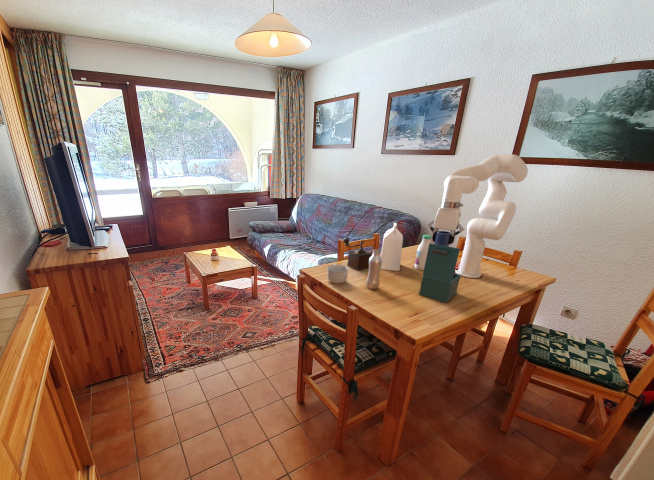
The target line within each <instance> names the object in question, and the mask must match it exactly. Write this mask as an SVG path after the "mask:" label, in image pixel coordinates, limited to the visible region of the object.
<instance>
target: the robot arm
mask: <svg viewBox="0 0 654 480" xmlns="http://www.w3.org/2000/svg"><path fill="white" fill-rule="evenodd" d="M528 172H529V171H528V166H527V164H526V163H525V162H524V160H523V159H522V157H520V156H519V155H517V154H508V153H507V154H504V153H503V154H498V153H495V154H492V155H490V156H488V157H486V158H485V159H483V160H482V161H481V162H479V163H478V164H474V165H471V166H468V167H464V168H463V167H462V168H460V169H458V170H457V169H456V170H455V171H453V172H452V173H450V174H449V175H448V176H447V177H446V178H445V180H444V181H443V193H442V194H443V195H442V199H441V204H440V206H439V207H438V209H437V213H436V214H435V219H434V220H432V221H431V222H429V223H427V226H428V228H429V230H430V232H432V235H431V240H432V243H434V242H435V237H436V232H437V231H440V230H442V231H449V232H451V236H450V240H449V246H451V245H452V244H454V242H455V239H456V236H458V235H459V234H461V233H462V232H463V231H465V228H464V227H463V226H462V224H461V216H462V215H461V213H462V209H461V208H463V207H464V203H463V202H461V201H462V196H463V194H466V195H467V194H472V193H474V192H476V191H477V189H478V188H479V186H480V182H484V181H485V182H486V181H487V185H488V188H487V192H486V194H485V196H484V198H483V200H482V202H481V205H480V206H479V209H478V215H479V216H481V217H483V218H480V217H475V218H471V219H470V220H469V222H467V225H466V238H465V243H464V246H463V250H462V254H461V259H460V263H459V267H458V268H457V269H458V270H456V269H455V271H454V273H456V274H460V275H461V276H460V277H464V278H469V279H478V278H481V276H482V273H481V272H480V269H482V265H481V263H482V260H483V256H484V253H485V249H486V241H485V239H488V240H493V241H499V240H501V239H503V237H504V236H505V234H506V232H507V230H508V228H509V226H510V224H511V223H512V221H513V218H514V216H515V214H516V210H517V206H516V204H515V202H513V201H509V200H505V197H506V196H507V194H508V193H507V192H508V191H507V188H506V185H505V183H520V182H523V181H524V180H525V179H526V178H527V176H528ZM503 182H504V183H503ZM456 230H457V231H456Z"/></svg>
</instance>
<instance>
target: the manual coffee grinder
mask: <svg viewBox="0 0 654 480" xmlns="http://www.w3.org/2000/svg"><path fill="white" fill-rule="evenodd" d="M342 242H343V243H344V246H345V247H347V248H354V249H352V250H348V254H347V255H348V256H347V265H346V266H347V267H349V268H351V269H353V270H356V271H364V270H369V259H370V257H371V256H372V255H373V254H372V253H373V252H370V251H369V250H367V249H364V248H363V244H364V240H363V239H361V240H360V242H359V243H358V244H355V245H350V242H351V239H350V238H349V237H344V238H343V239H342ZM359 246H360V247H359Z"/></svg>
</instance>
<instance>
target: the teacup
mask: <svg viewBox="0 0 654 480" xmlns="http://www.w3.org/2000/svg"><path fill="white" fill-rule="evenodd" d="M348 270H349V266H347V265H343V264H338V263H333V264H331V265H328V266H327V268H326V271H327V273H326V274H327V280H328V281H330V282H331V283H333V284H343V283H344V282H345V281H347V279H348V274H349V273H348V272H349V271H348Z"/></svg>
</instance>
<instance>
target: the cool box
mask: <svg viewBox="0 0 654 480" xmlns="http://www.w3.org/2000/svg"><path fill="white" fill-rule="evenodd" d="M461 277H462V276H461V275H460V274H456V273H455V272H454V275H453V279H452V282H447V281H443V280H439V279H435V278H431V277H427V276H423V275H422V278H421V283H420V288H419V296H422V297H426V298H429V299H433V300H436V301H440V302H443V303H446V304H447V303H449V301H450V300H451V299H452V298H453V297H454V296H455V295H456V294H457V291H458V288H459V284H460V279H461Z"/></svg>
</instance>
